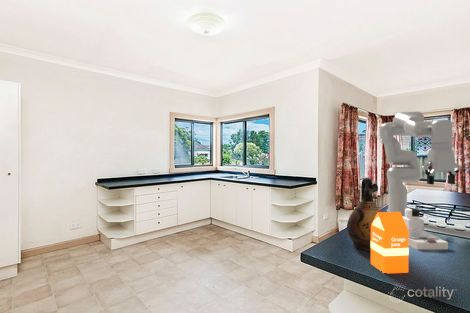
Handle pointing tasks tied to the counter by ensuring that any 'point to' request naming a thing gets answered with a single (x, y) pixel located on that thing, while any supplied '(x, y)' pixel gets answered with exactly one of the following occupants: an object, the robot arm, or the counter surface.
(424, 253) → the counter surface
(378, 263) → the orange juice
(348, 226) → the ceramic jug
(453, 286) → the counter surface
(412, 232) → the scale pan
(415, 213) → the medicine bottle
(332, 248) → the counter surface
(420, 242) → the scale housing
